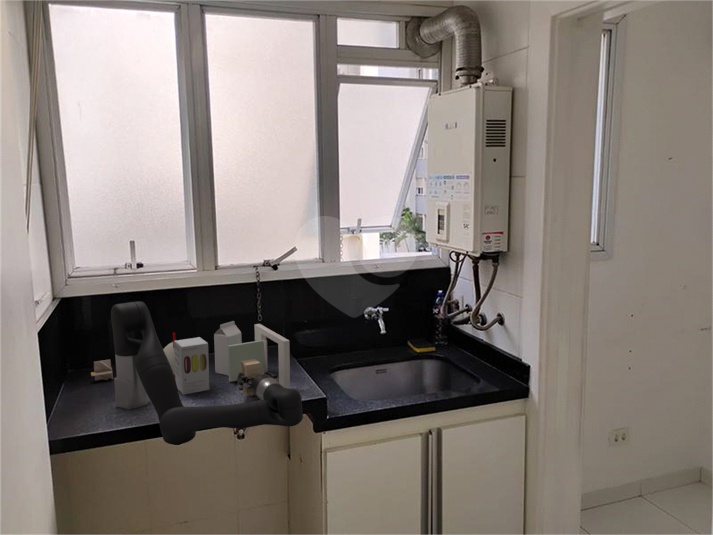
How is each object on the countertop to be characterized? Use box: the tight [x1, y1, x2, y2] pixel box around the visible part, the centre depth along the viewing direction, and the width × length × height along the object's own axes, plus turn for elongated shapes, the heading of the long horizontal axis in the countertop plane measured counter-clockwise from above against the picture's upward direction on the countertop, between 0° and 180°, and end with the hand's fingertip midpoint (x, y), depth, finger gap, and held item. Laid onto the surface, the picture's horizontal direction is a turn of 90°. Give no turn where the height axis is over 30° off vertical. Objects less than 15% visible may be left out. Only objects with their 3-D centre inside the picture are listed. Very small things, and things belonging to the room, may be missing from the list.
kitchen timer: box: [163, 332, 177, 380], centre depth 211 cm, size 14×14×15 cm
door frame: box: [254, 323, 291, 389], centre depth 202 cm, size 26×2×18 cm, turn 32°
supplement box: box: [174, 336, 210, 396], centre depth 195 cm, size 10×9×17 cm
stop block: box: [241, 359, 261, 397], centre depth 191 cm, size 5×5×11 cm
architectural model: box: [90, 359, 114, 381], centre depth 203 cm, size 3×7×7 cm, turn 119°
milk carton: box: [213, 320, 243, 377], centre depth 211 cm, size 7×7×19 cm
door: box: [228, 339, 269, 382], centre depth 205 cm, size 15×3×13 cm, turn 122°
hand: (248, 373), depth 193 cm, fingers closed on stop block, 5 cm apart
